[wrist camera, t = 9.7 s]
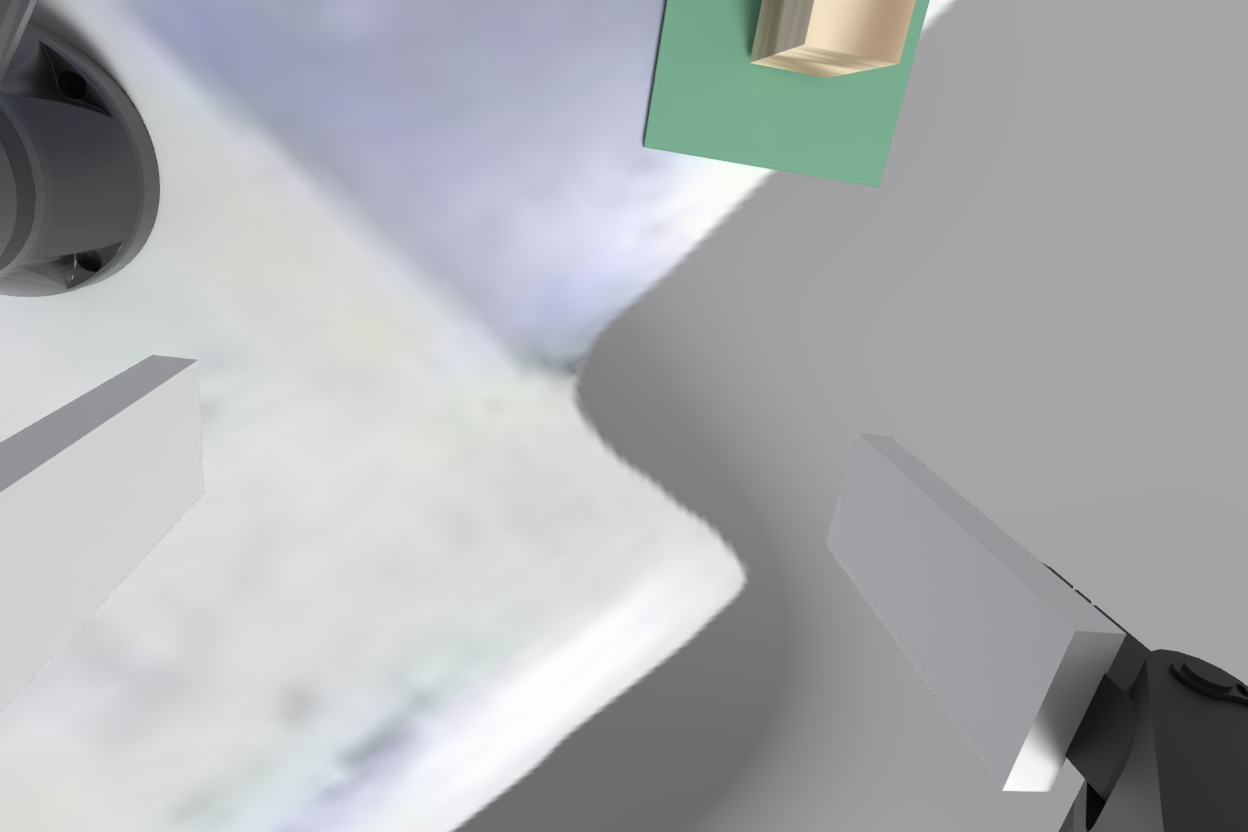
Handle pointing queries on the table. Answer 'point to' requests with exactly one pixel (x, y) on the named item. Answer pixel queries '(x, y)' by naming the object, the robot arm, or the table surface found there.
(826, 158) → the pitch mat
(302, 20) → the table surface
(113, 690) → the table surface
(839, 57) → the rod slider
